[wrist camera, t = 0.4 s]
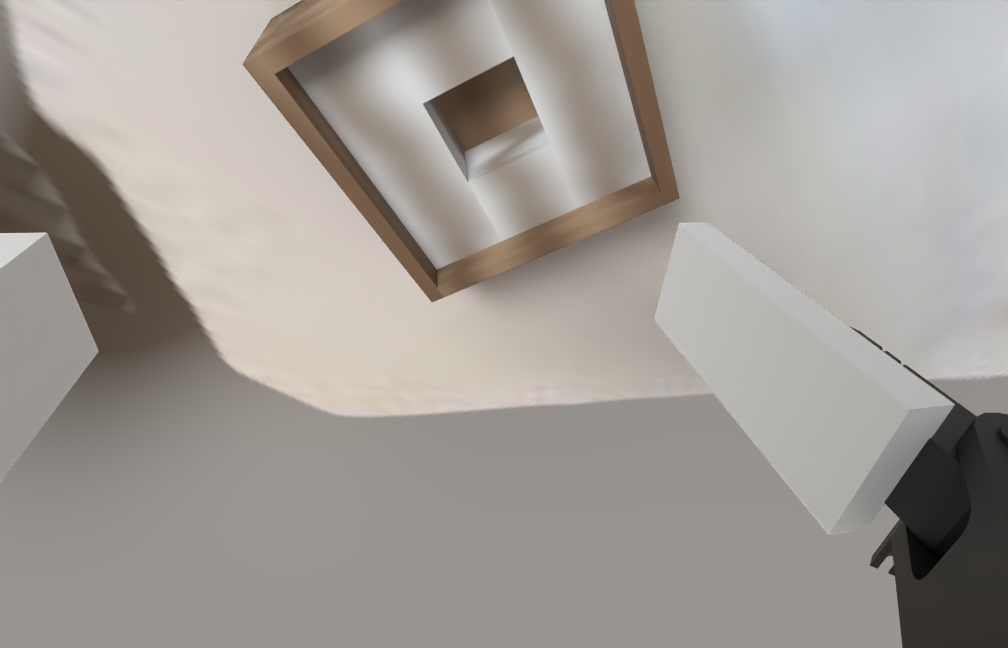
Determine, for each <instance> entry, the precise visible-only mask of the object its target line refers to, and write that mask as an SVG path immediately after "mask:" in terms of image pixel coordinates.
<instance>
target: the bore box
mask: <svg viewBox="0 0 1008 648" xmlns="http://www.w3.org/2000/svg"><path fill="white" fill-rule="evenodd" d="M243 66H244V67H245V68H246V69H247V71H248V72H249V73H250V74H251V76H252V77H253V78H254V79H255V81H256V82H257V83H258V85H259V86H260V87H261V88H262V90H263V91H264V92H265V93H266V95H267V96H268V97H269V98H270V100H271V101H272V102H273V103H274V105H275V106H276V107H277V108H278V110H279V111H280V112H281V113H282V115H283V116H284V117H285V118H286V120H287V121H288V122H289V123H290V125H291V126H292V127H293V128H294V130H295V131H296V132H297V133H298V135H299V136H300V137H301V139H302V140H303V141H304V142H305V144H306V145H307V146H308V147H309V149H310V150H311V151H312V152H313V154H314V155H315V156H316V157H317V159H318V160H319V161H320V162H321V164H322V165H323V166H324V167H325V169H326V170H327V171H328V172H329V174H330V175H331V176H332V177H333V179H334V180H335V181H336V182H337V184H338V185H339V186H340V187H341V189H342V190H343V191H344V193H345V194H346V195H347V196H348V198H349V199H350V200H351V201H352V203H353V204H354V205H355V206H356V208H357V209H358V210H359V211H360V213H361V214H362V215H363V216H364V218H365V219H366V220H367V221H368V223H369V224H370V225H371V226H372V228H373V229H374V230H375V231H376V233H377V234H378V235H379V236H380V238H381V239H382V240H383V241H384V243H385V244H386V245H387V247H388V248H389V249H390V250H391V252H392V253H393V254H394V255H395V257H396V258H397V259H398V260H399V262H400V263H401V264H402V265H403V267H404V268H405V269H406V270H407V272H408V273H409V274H410V275H411V277H412V278H413V279H414V280H415V282H416V283H417V284H418V285H419V287H420V288H421V289H422V290H423V292H424V293H425V294H426V295H427V297H428V298H429V299H430V301H431V302H434V301H436V300H439V299H441V298H444V297H446V296H448V295H451V294H453V293H455V292H458V291H460V290H463V289H465V288H467V287H470V286H472V285H474V284H477V283H479V282H482V281H484V280H486V279H489V278H491V277H494V276H496V275H498V274H501V273H503V272H505V271H508V270H510V269H513V268H515V267H517V266H520V265H522V264H524V263H527V262H529V261H532V260H534V259H536V258H539V257H541V256H543V255H546V254H548V253H551V252H553V251H555V250H558V249H560V248H563V247H565V246H567V245H570V244H572V243H574V242H577V241H579V240H582V239H584V238H586V237H589V236H591V235H593V234H596V233H598V232H601V231H603V230H605V229H608V228H610V227H612V226H615V225H617V224H620V223H622V222H624V221H627V220H629V219H631V218H634V217H636V216H639V215H641V214H643V213H646V212H648V211H651V210H653V209H655V208H658V207H660V206H662V205H665V204H667V203H670V202H672V201H674V200H677V199H679V194H678V190H677V185H676V181H675V177H674V172H673V168H672V164H671V159H670V155H669V151H668V146H667V142H666V137H665V133H664V129H663V124H662V120H661V116H660V111H659V107H658V103H657V98H656V94H655V90H654V85H653V81H652V77H651V72H650V68H649V64H648V59H647V55H646V51H645V46H644V42H643V37H642V33H641V29H640V24H639V20H638V16H637V11H636V7H635V3H634V0H302V1H300V2H299V3H297V4H295V5H294V6H292V7H290V8H289V9H287V10H285V11H284V12H282V13H280V14H279V15H277V16H275V17H274V18H272V19H271V20H270V22H269V23H268V25H267V27H266V28H265V30H264V31H263V33H262V34H261V36H260V38H259V39H258V41H257V42H256V44H255V45H254V47H253V49H252V50H251V52H250V53H249V55H248V56H247V58H246V60H245V61H244V63H243Z"/></svg>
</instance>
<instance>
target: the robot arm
mask: <svg viewBox="0 0 1008 648" xmlns="http://www.w3.org/2000/svg"><path fill="white" fill-rule="evenodd" d="M654 321H655V322H656V323H657V324H658V326H659V327H660V328H661V329H662V331H663V332H664V333H665V334H666V336H667V337H668V338H669V339H670V340H671V342H672V343H673V344H674V345H675V347H676V348H677V349H678V350H679V352H680V353H681V354H682V355H683V356H684V358H685V359H686V360H687V361H688V363H689V364H690V365H691V366H692V368H693V369H694V370H695V371H696V372H697V374H698V375H699V376H700V377H701V379H702V380H703V381H704V382H705V384H706V385H707V386H708V387H709V388H710V390H711V391H712V392H713V393H714V395H715V396H716V397H717V398H718V399H719V401H720V402H721V403H722V404H723V406H724V407H725V408H726V409H727V411H728V412H729V413H730V414H731V415H732V417H733V418H734V419H735V420H736V422H737V423H738V424H739V425H740V427H741V428H742V429H743V430H744V432H745V433H746V434H747V435H748V436H749V438H750V439H751V440H752V441H753V443H754V444H755V445H756V446H757V448H758V449H759V450H760V451H761V452H762V454H763V455H764V456H765V457H766V459H767V460H768V461H769V462H770V464H771V465H772V466H773V467H774V468H775V470H776V471H777V472H778V473H779V474H780V476H781V477H782V478H783V479H784V481H785V482H786V483H787V484H788V486H789V487H790V488H791V489H792V491H793V492H794V493H795V494H796V495H797V497H798V498H799V499H800V500H801V502H802V503H803V504H804V505H805V507H806V508H807V509H808V510H809V511H810V513H811V514H812V515H813V516H814V518H815V519H816V520H817V521H818V523H819V524H820V525H821V526H822V527H823V529H824V530H825V531H826V532H827V534H829V535H832V534H839V533H845V532H851V531H857V530H863V529H868V527H869V526H870V525H871V523H872V522H873V520H874V519H875V517H876V516H877V515H878V513H879V512H880V510H881V509H882V508H883V506H884V505H885V504H886V505H887V506H888V507H889V508H890V509H891V510H892V511H893V512H894V513H895V514H896V515H897V516H898V517H899V518H900V519H899V521H898V522H897V523H896V525H895V526H894V527H893V529H892V530H891V532H890V533H889V534H888V536H887V537H886V538H885V540H884V541H883V542H882V544H881V545H880V546H879V548H878V549H877V551H876V552H875V553H874V554H873V556H872V559H871V564H870V566H873V567H875V568H878V567H879V566H880V565H881V563H882V562H883V561H884V559H885V558H886V557H887V556H893V560H894V565H893V567H892V568H891V569H890V570H889V574H892V575H894V576H895V580H896V589H897V598H898V608H899V618H900V627H901V636H902V646H903V648H1008V415H1007V414H1002V413H983V414H981V415H979V416H975V415H974V414H972V413H971V412H970V411H968V410H967V409H966V408H964V407H963V406H962V405H960V404H959V403H957V402H956V401H955V400H953V399H952V398H950V397H949V396H948V395H946V394H945V393H944V392H942V391H941V390H939V389H938V388H937V387H935V386H934V385H933V384H931V383H930V382H929V381H927V380H926V379H925V378H923V377H922V376H920V375H919V374H918V373H916V372H915V371H914V370H912V369H911V368H909V367H908V366H907V365H901V361H900V360H898V359H897V358H896V357H894V356H893V355H892V354H890V353H889V352H888V351H883V350H882V347H881V346H879V345H878V344H877V343H875V342H874V341H872V340H871V339H870V338H868V337H867V336H866V335H864V334H863V333H861V332H860V331H858V330H856V329H854V328H852V327H850V326H848V325H846V324H845V323H844V322H842V321H841V320H840V319H838V318H837V317H836V316H834V315H833V314H831V313H830V312H829V311H827V310H826V309H825V308H823V307H822V306H821V305H819V304H818V303H817V302H815V301H814V300H812V299H811V298H810V297H808V296H807V295H806V294H804V293H803V292H802V291H800V290H799V289H798V288H796V287H795V286H793V285H792V284H791V283H789V282H788V281H787V280H785V279H784V278H783V277H781V276H780V275H779V274H777V273H776V272H774V271H773V270H772V269H770V268H769V267H768V266H766V265H765V264H764V263H762V262H761V261H759V260H758V259H757V258H755V257H754V256H753V255H751V254H750V253H749V252H747V251H746V250H745V249H743V248H742V247H740V246H739V245H738V244H736V243H735V242H734V241H732V240H731V239H730V238H728V237H727V236H726V235H724V234H723V233H721V232H720V231H719V230H717V229H716V228H715V227H713V226H712V225H711V224H709V223H708V222H698V223H679V225H678V229H677V232H676V236H675V240H674V244H673V248H672V252H671V255H670V259H669V263H668V267H667V271H666V274H665V278H664V282H663V286H662V290H661V294H660V297H659V301H658V305H657V309H656V313H655V316H654ZM97 352H98V349H97V346H96V344H95V342H94V340H93V337H92V335H91V333H90V330H89V328H88V326H87V323H86V321H85V319H84V317H83V314H82V312H81V310H80V307H79V305H78V303H77V300H76V298H75V296H74V293H73V291H72V289H71V287H70V284H69V282H68V280H67V277H66V275H65V273H64V271H63V268H62V266H61V264H60V261H59V259H58V257H57V254H56V252H55V250H54V248H53V245H52V243H51V241H50V238H49V236H48V234H47V233H0V483H1V481H2V480H3V479H4V477H5V476H6V475H7V473H8V472H9V471H10V469H11V468H12V467H13V465H14V464H15V463H16V461H17V460H18V459H19V457H20V456H21V454H22V453H23V452H24V451H25V449H26V448H27V447H28V445H29V444H30V442H31V441H32V440H33V438H34V437H35V436H36V434H37V433H38V432H39V430H40V429H41V428H42V426H43V425H44V424H45V422H46V421H47V420H48V418H49V417H50V416H51V414H52V413H53V412H54V410H55V409H56V408H57V406H58V405H59V404H60V402H61V401H62V399H63V398H64V397H65V395H66V394H67V393H68V391H69V390H70V389H71V387H72V386H73V385H74V383H75V382H76V381H77V379H78V378H79V377H80V375H81V374H82V373H83V371H84V370H85V369H86V367H87V366H88V365H89V363H90V362H91V361H92V359H93V358H94V357H95V355H96V354H97Z"/></svg>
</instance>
